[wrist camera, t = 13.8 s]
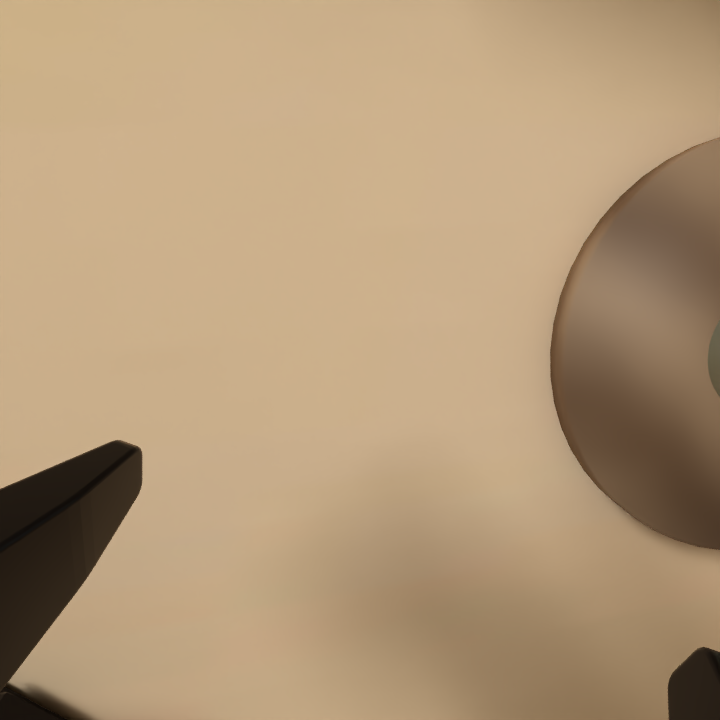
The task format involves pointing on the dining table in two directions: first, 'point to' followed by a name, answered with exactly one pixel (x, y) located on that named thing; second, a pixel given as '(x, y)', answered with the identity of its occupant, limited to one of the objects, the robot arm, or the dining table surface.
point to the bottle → (715, 359)
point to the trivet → (648, 349)
